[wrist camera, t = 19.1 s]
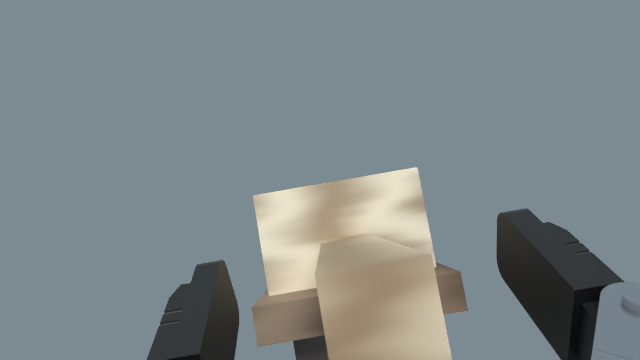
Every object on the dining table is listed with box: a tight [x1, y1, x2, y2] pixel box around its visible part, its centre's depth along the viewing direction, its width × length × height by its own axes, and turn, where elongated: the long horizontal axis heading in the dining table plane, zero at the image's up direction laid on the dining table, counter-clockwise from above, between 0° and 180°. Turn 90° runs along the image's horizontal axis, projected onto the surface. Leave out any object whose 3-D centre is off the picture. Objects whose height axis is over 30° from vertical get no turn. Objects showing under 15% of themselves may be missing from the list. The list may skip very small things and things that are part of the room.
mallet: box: [253, 167, 452, 360], centre depth 21 cm, size 10×22×6 cm, turn 179°
